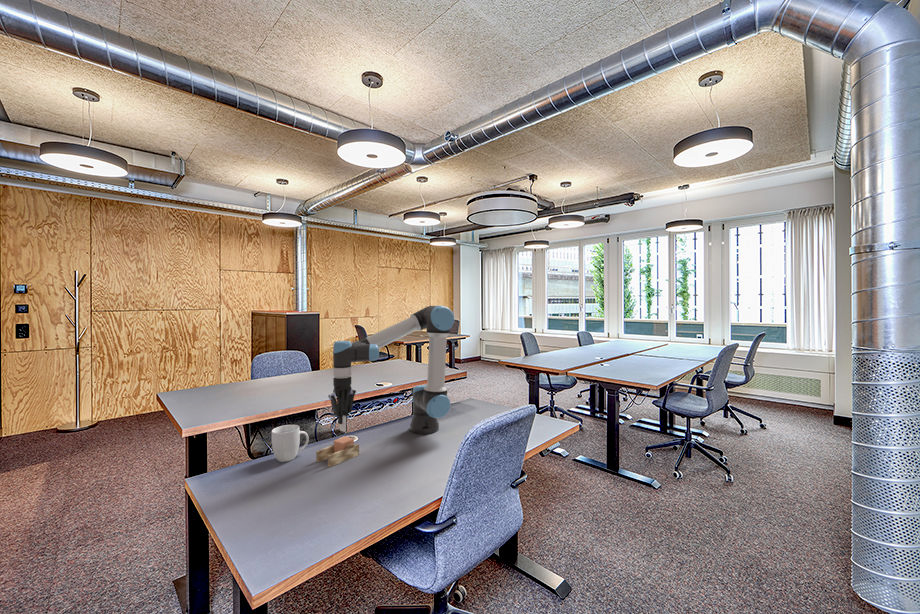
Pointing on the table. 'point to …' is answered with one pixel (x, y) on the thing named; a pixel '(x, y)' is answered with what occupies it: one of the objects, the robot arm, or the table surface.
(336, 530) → the table surface
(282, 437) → the mug
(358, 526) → the table surface
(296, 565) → the table surface
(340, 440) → the block
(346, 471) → the table surface
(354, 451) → the tan boxy piece
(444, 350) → the robot arm
